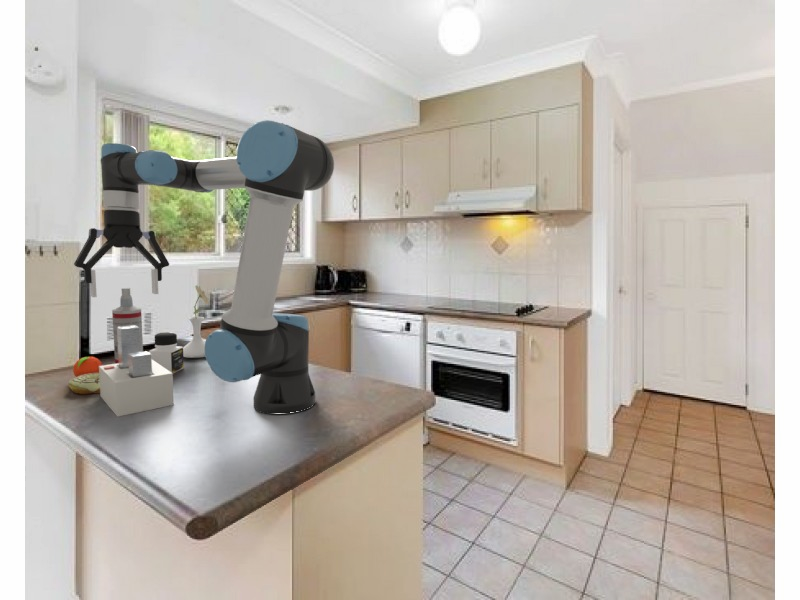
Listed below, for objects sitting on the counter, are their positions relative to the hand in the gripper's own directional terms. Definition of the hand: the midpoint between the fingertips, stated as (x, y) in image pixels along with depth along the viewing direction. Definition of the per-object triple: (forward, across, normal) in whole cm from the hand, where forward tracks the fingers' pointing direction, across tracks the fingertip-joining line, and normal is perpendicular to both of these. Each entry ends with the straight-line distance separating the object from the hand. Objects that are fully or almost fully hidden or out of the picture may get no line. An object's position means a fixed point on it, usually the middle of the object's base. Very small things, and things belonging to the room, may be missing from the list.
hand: (125, 295), depth 113 cm
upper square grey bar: (+26, 0, 0) cm, 26 cm away
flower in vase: (+27, -28, -31) cm, 49 cm away
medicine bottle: (+26, -14, -18) cm, 35 cm away
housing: (+26, 0, +5) cm, 27 cm away
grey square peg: (+26, 0, +10) cm, 28 cm away
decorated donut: (+27, +6, -12) cm, 30 cm away
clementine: (+27, +6, -21) cm, 34 cm away
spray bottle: (+27, -7, -32) cm, 42 cm away
